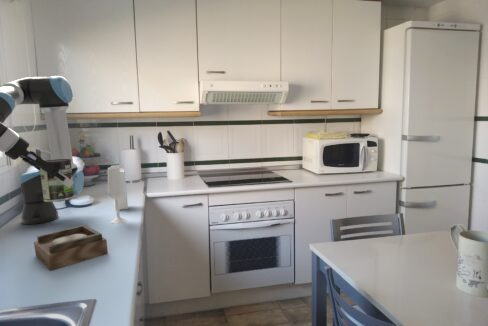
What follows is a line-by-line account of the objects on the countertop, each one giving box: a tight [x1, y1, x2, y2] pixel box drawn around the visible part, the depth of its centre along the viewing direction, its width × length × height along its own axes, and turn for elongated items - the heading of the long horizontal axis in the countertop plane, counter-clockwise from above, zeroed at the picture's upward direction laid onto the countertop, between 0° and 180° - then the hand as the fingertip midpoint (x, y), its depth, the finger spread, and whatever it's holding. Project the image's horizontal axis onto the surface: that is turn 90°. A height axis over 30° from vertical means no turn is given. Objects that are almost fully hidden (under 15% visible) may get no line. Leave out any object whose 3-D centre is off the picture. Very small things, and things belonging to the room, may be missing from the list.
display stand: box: [33, 224, 109, 271], centre depth 126 cm, size 18×18×7 cm
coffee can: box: [40, 159, 76, 203], centre depth 134 cm, size 10×10×14 cm
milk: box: [110, 164, 129, 211], centre depth 185 cm, size 6×6×22 cm
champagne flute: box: [107, 166, 127, 224], centre depth 163 cm, size 7×7×24 cm
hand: (66, 183), depth 136 cm, fingers closed on coffee can, 10 cm apart
